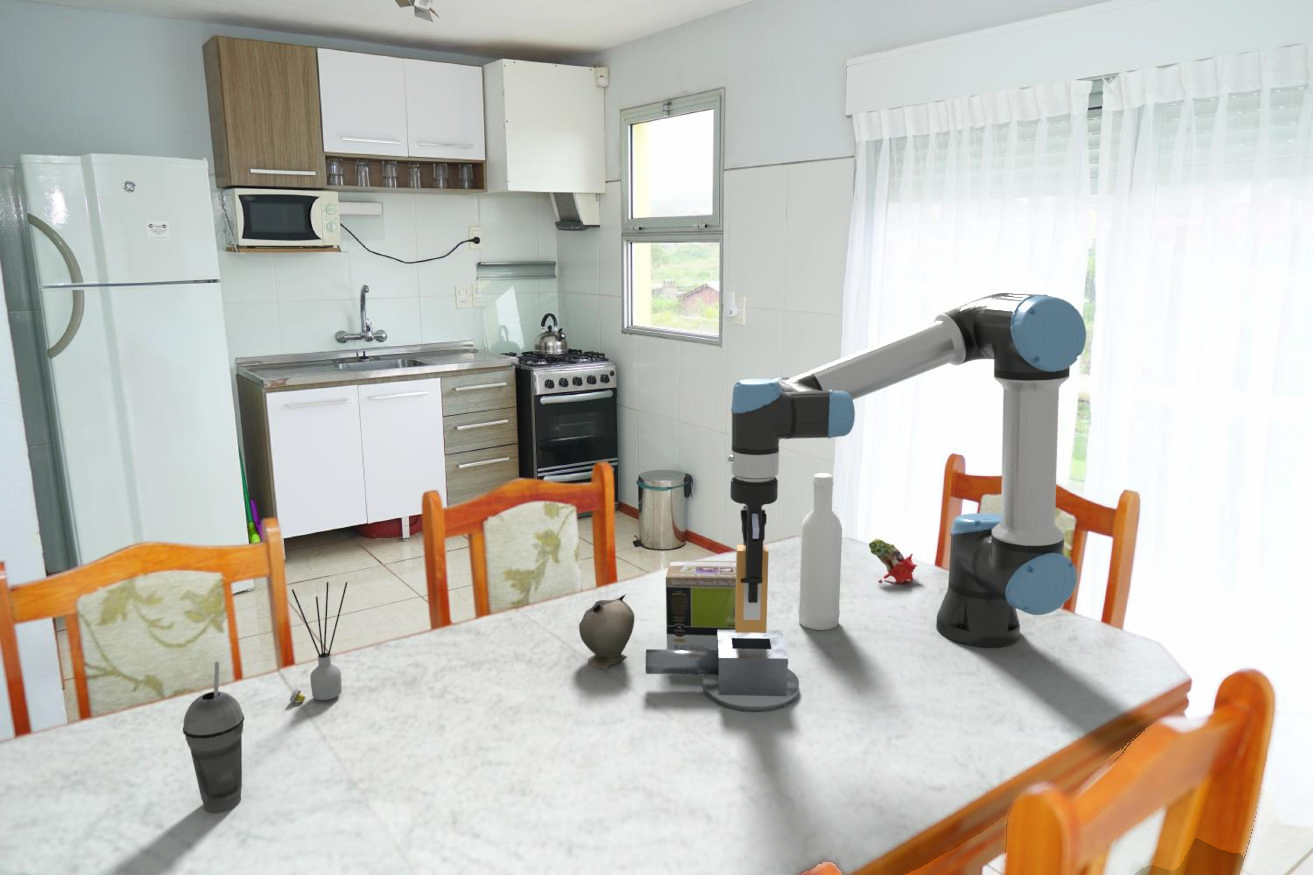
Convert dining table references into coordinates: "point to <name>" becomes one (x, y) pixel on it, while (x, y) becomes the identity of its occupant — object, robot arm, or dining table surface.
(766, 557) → the tan wooden beam
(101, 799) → the dining table surface
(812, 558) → the bottle
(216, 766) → the beverage cup
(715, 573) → the tea box
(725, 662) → the bracket head
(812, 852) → the dining table surface
